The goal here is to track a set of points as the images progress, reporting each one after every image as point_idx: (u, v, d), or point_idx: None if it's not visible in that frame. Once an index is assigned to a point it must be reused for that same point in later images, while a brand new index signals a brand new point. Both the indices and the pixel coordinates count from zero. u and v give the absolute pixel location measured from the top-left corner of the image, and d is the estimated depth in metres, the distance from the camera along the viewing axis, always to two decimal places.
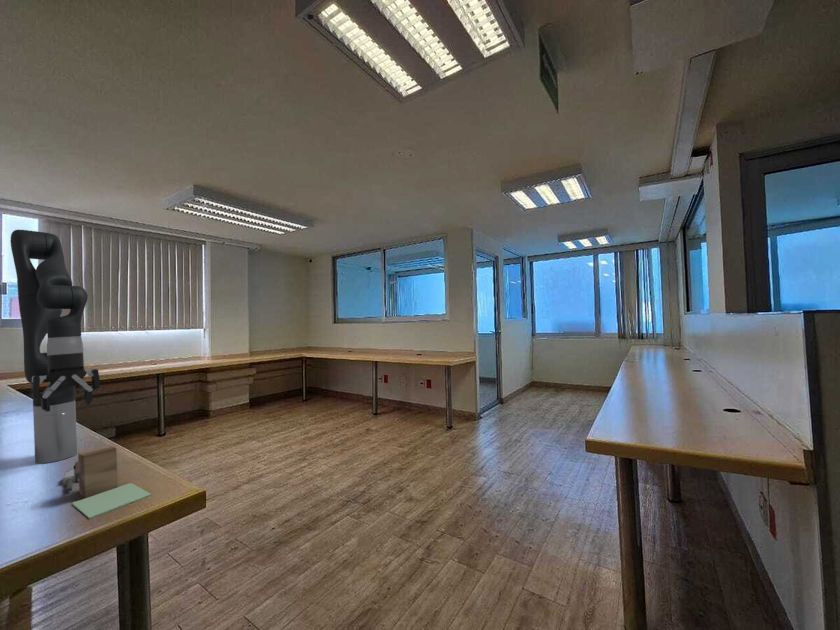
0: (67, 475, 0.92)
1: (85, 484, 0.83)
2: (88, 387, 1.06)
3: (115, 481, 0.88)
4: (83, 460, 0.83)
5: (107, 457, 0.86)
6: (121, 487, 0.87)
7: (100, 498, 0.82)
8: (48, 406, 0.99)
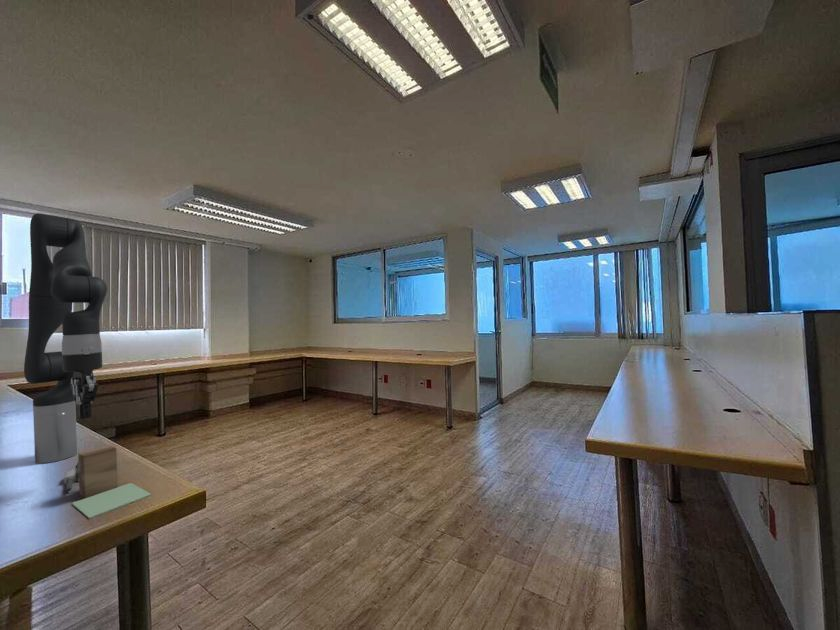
0: (68, 475, 0.92)
1: (85, 484, 0.83)
2: None
3: (115, 481, 0.88)
4: (83, 460, 0.83)
5: (107, 457, 0.86)
6: (121, 487, 0.87)
7: (100, 498, 0.82)
8: None
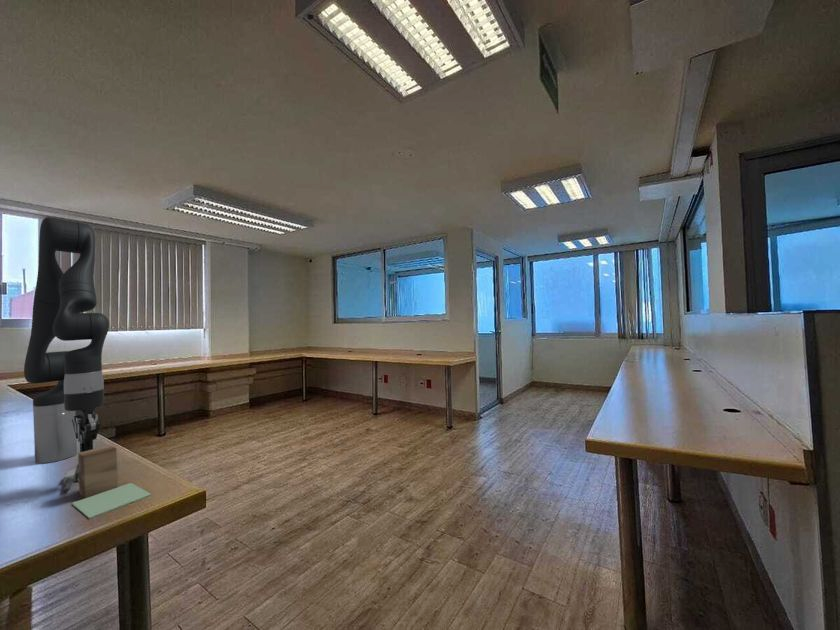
0: (68, 474, 0.92)
1: (85, 484, 0.83)
2: None
3: (115, 481, 0.88)
4: (83, 460, 0.83)
5: (107, 457, 0.86)
6: (121, 487, 0.87)
7: (100, 498, 0.82)
8: None
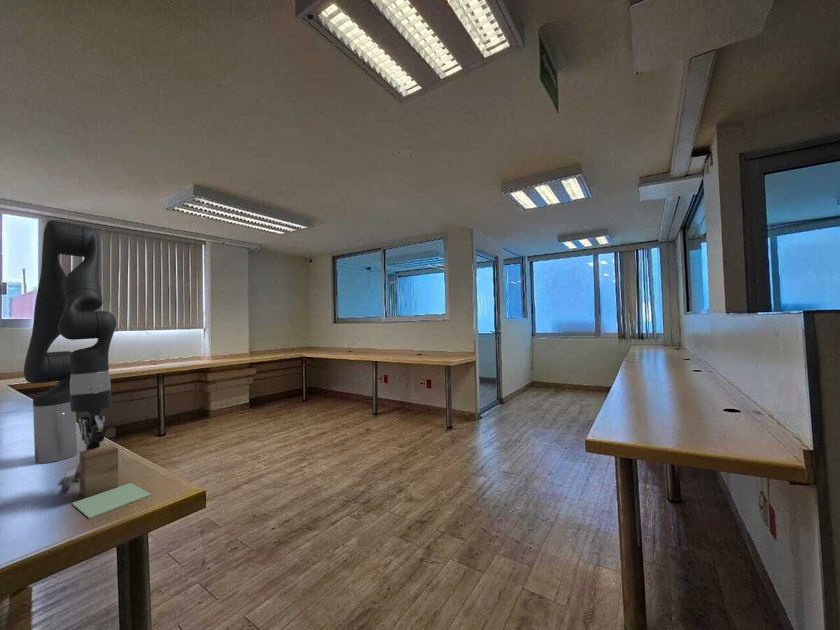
0: (68, 474, 0.92)
1: (86, 484, 0.83)
2: None
3: (115, 481, 0.87)
4: (85, 461, 0.83)
5: (108, 458, 0.86)
6: (121, 487, 0.87)
7: (100, 498, 0.82)
8: None
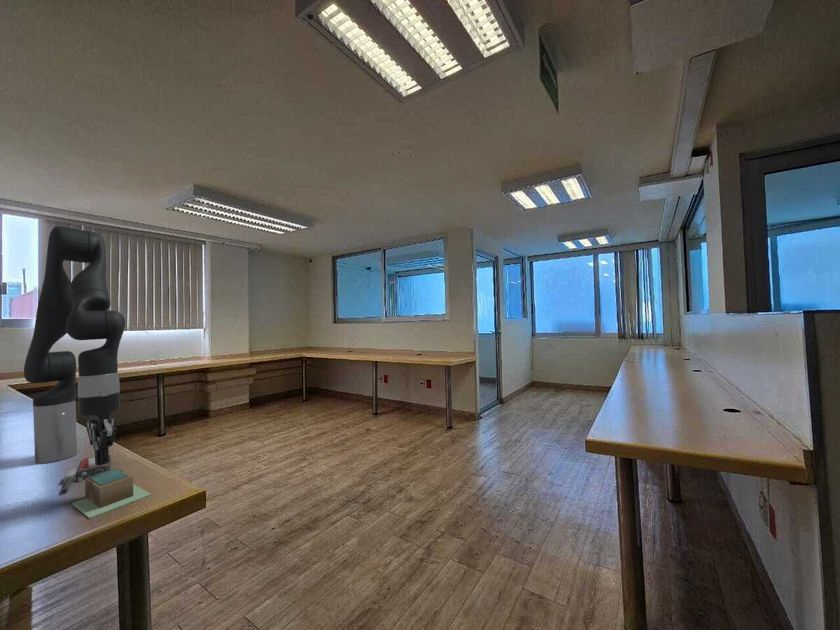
0: (68, 474, 0.92)
1: (90, 499, 0.81)
2: None
3: None
4: (98, 504, 0.78)
5: None
6: None
7: None
8: None
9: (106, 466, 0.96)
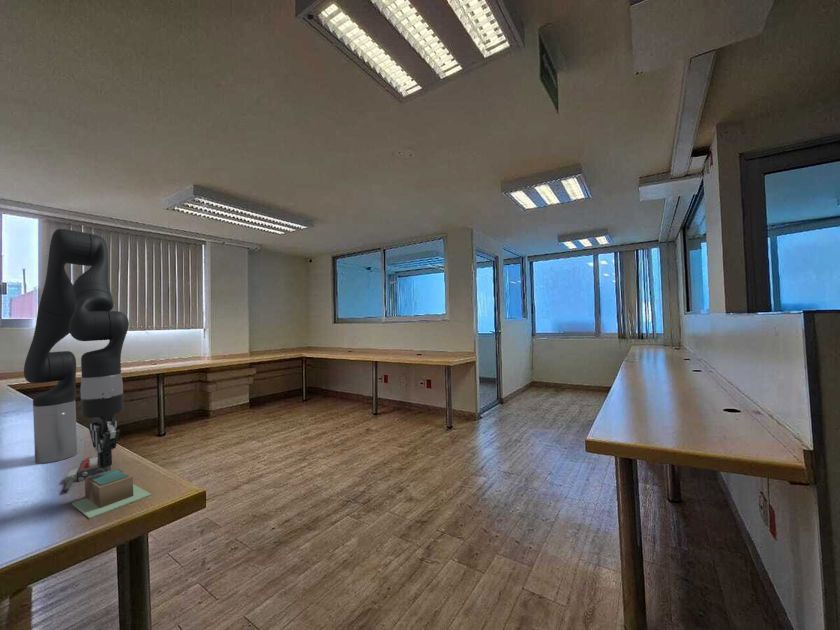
0: (69, 474, 0.93)
1: (90, 499, 0.81)
2: None
3: None
4: (98, 504, 0.78)
5: None
6: None
7: None
8: None
9: None
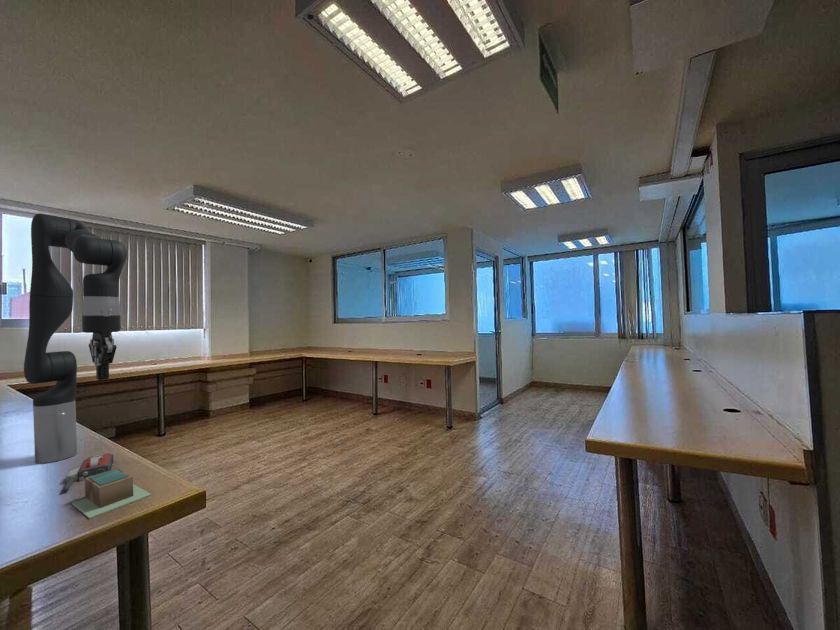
0: (70, 473, 0.93)
1: (90, 499, 0.81)
2: None
3: None
4: (98, 504, 0.78)
5: None
6: None
7: None
8: None
9: (107, 466, 0.96)
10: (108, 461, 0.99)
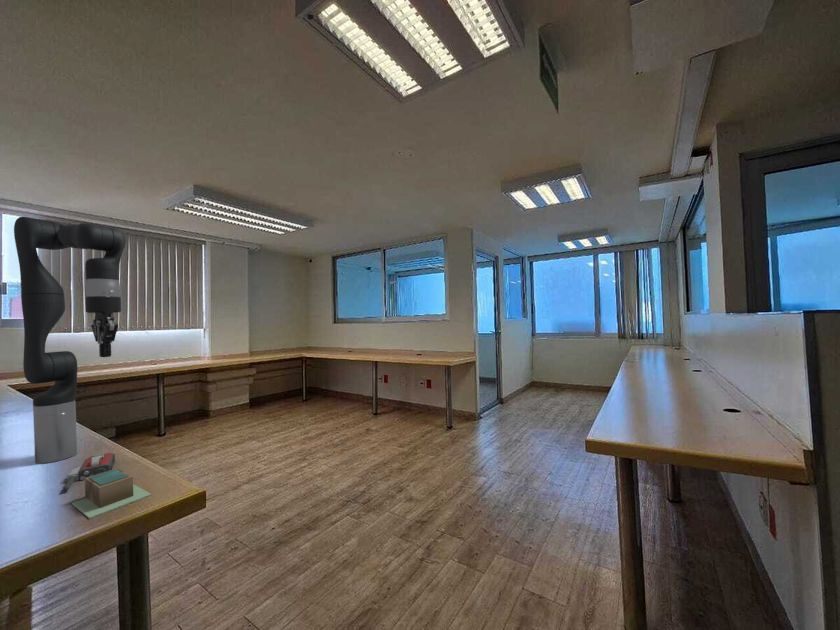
0: (71, 472, 0.93)
1: (90, 499, 0.81)
2: None
3: None
4: (98, 504, 0.78)
5: None
6: None
7: None
8: None
9: (108, 465, 0.96)
10: (109, 460, 0.99)
